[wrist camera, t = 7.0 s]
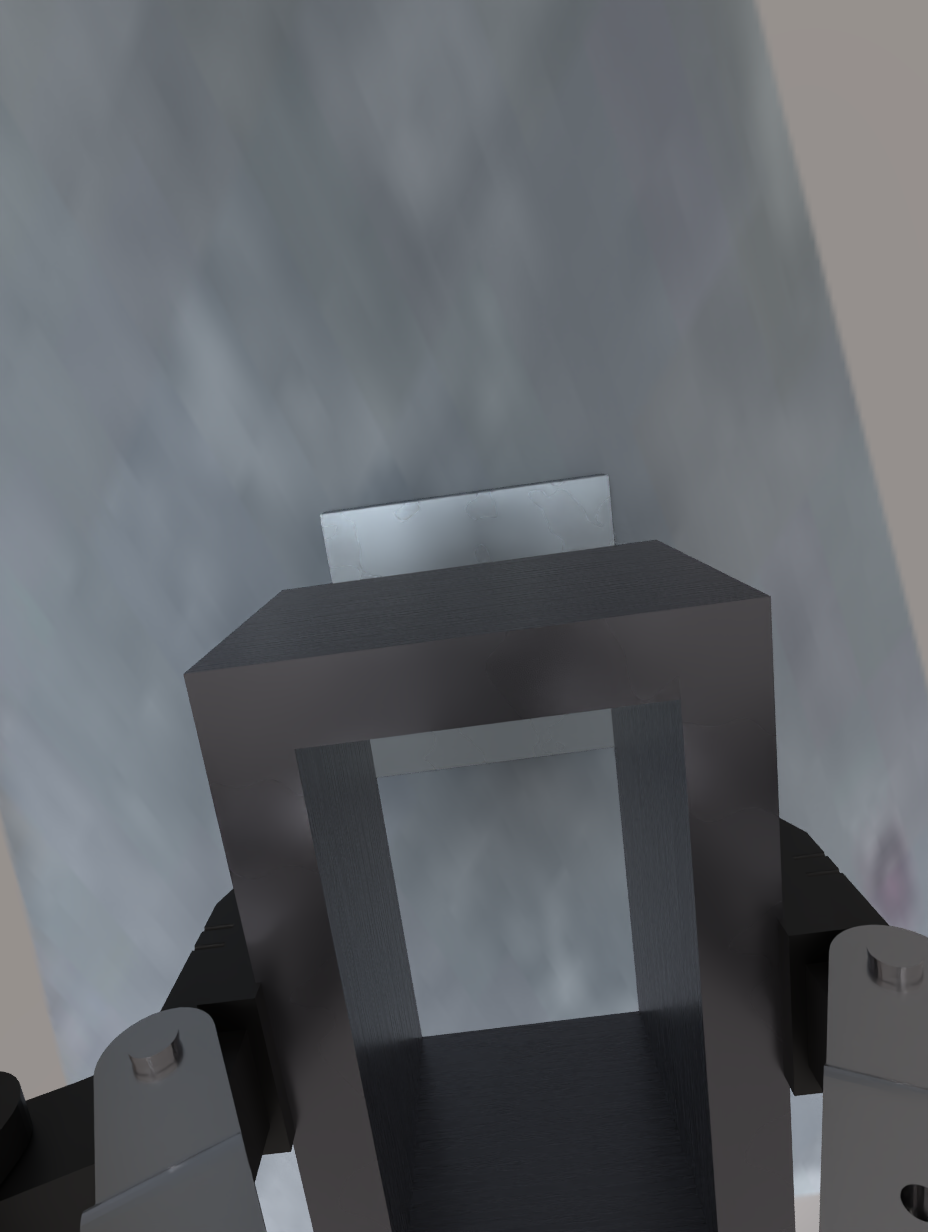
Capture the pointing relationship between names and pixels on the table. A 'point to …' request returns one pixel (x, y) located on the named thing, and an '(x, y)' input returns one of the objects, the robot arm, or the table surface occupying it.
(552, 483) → the peg plate
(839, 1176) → the robot arm
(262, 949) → the grey storage bin
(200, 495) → the table surface
